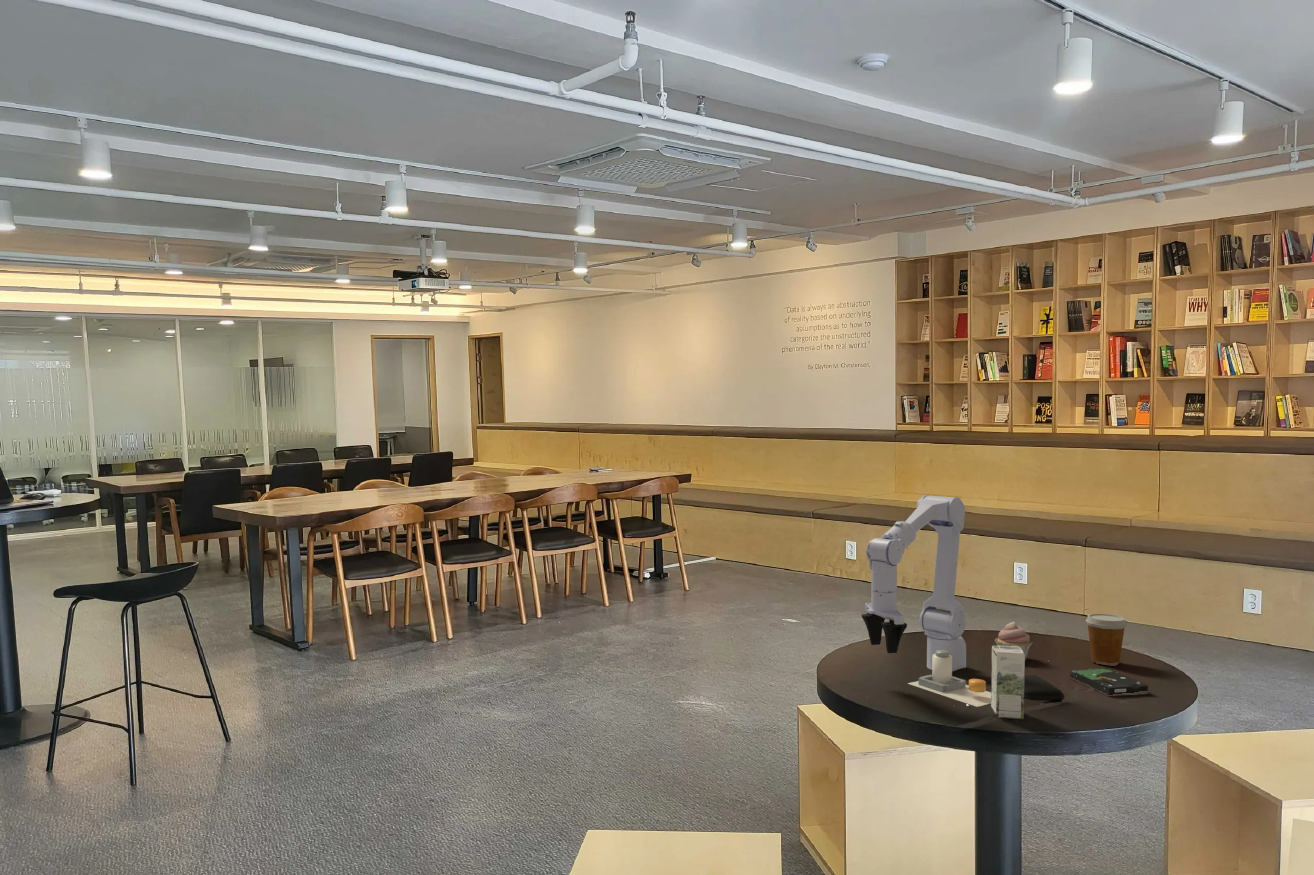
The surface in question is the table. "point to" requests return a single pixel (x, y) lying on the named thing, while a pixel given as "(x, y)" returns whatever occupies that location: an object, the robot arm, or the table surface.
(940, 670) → the cylinder
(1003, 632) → the cupcake
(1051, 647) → the table surface
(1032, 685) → the carrying case or bag
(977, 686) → the orange short cylinder
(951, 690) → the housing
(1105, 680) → the disk drive
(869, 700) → the table surface
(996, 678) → the syrup box
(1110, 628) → the disposable coffee cup
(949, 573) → the robot arm
